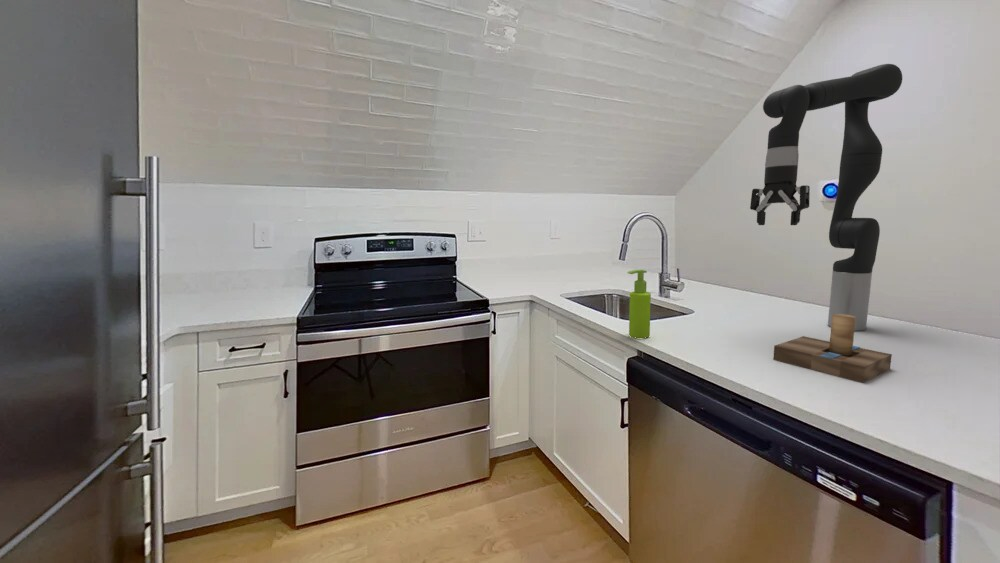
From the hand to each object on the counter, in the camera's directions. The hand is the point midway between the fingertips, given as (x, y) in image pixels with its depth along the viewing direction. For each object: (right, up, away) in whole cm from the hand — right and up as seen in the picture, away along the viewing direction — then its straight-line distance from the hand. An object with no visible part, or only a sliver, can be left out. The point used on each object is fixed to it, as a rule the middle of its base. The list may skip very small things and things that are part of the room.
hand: (777, 225), depth 120 cm
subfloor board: (+1, -35, -18) cm, 40 cm away
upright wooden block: (+2, -36, -20) cm, 41 cm away
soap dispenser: (-36, -32, +9) cm, 49 cm away
